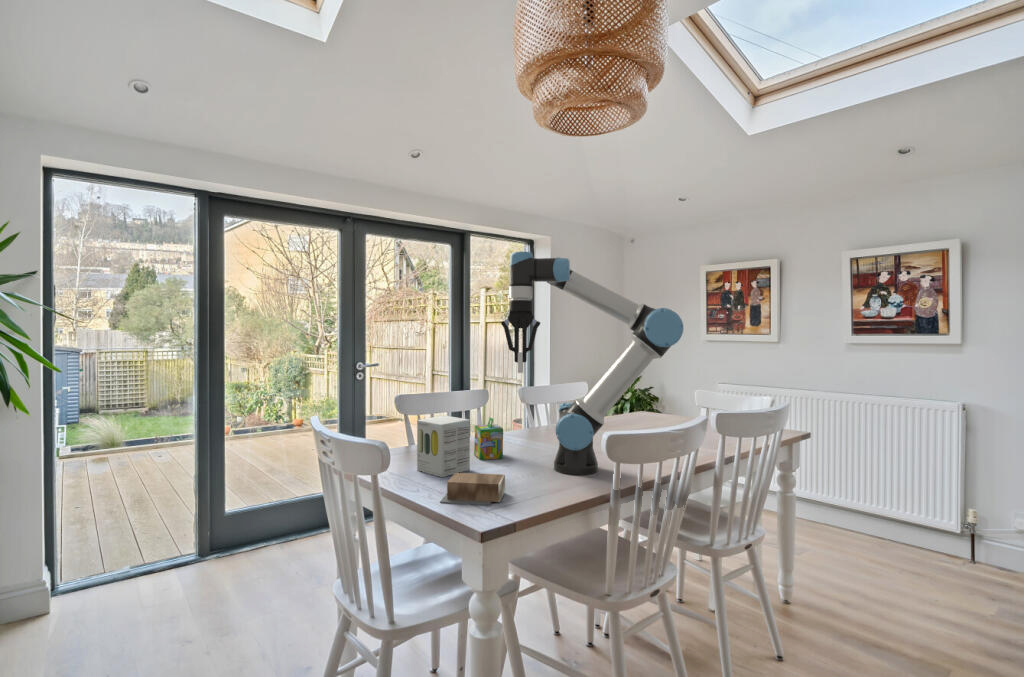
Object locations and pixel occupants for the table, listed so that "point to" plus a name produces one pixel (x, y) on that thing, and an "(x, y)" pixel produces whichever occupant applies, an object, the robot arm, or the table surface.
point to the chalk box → (488, 441)
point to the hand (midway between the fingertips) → (520, 372)
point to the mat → (464, 501)
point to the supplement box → (443, 445)
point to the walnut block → (476, 487)
